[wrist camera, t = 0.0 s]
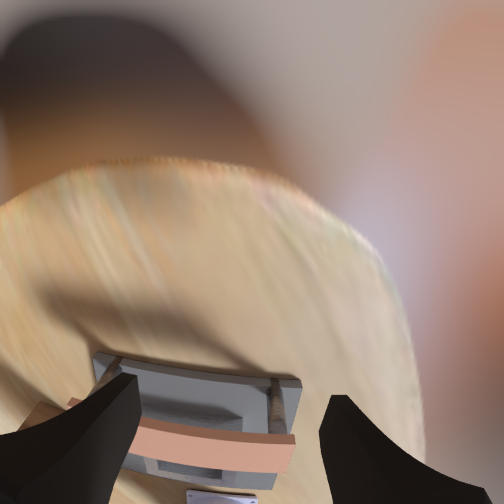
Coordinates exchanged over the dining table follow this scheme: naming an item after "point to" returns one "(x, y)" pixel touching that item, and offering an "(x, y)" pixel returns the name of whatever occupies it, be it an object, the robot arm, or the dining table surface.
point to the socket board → (207, 424)
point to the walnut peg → (40, 415)
